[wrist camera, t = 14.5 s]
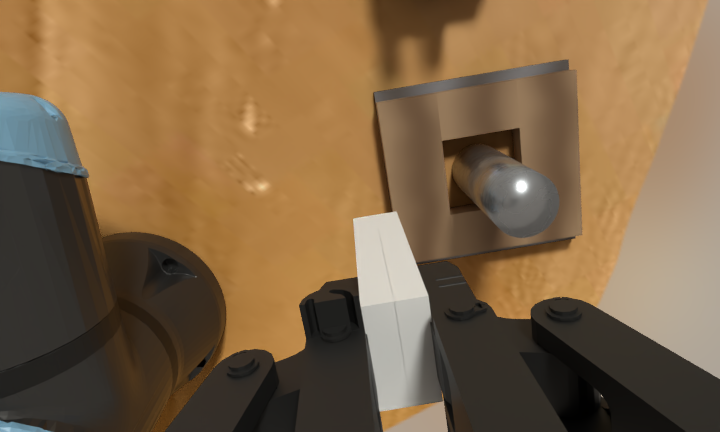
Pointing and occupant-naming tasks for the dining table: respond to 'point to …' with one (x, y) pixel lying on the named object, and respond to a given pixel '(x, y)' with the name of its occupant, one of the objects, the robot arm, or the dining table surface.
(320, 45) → the dining table surface
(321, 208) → the dining table surface
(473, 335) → the robot arm
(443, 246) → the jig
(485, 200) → the steel cylinder rod
